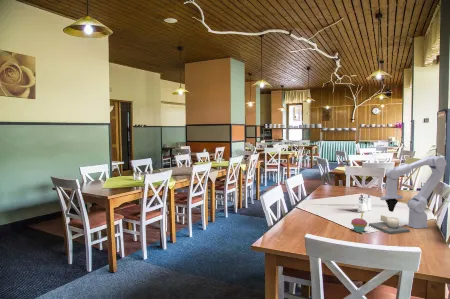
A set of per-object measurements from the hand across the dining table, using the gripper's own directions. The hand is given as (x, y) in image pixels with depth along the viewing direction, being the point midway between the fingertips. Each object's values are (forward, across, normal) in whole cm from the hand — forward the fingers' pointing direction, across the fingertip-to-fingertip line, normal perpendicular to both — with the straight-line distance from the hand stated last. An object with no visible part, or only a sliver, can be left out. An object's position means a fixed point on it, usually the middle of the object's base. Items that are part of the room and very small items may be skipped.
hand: (391, 211), depth 190 cm
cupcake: (+9, -25, -2) cm, 27 cm away
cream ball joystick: (+6, -5, -4) cm, 9 cm away
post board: (+9, -6, -4) cm, 12 cm away
